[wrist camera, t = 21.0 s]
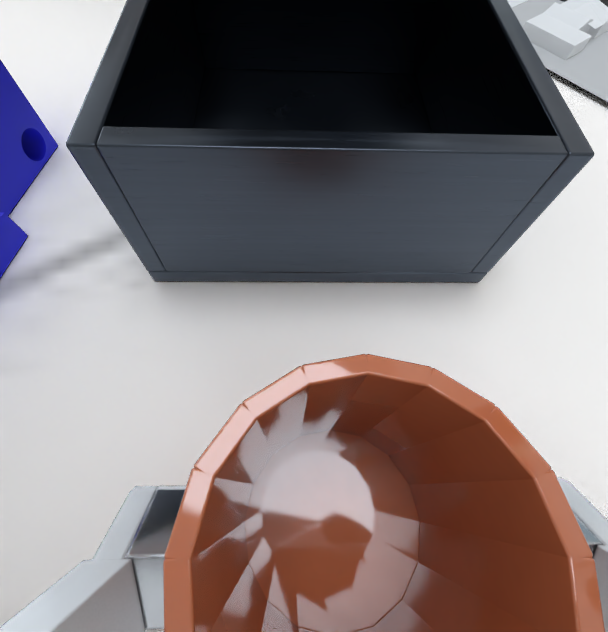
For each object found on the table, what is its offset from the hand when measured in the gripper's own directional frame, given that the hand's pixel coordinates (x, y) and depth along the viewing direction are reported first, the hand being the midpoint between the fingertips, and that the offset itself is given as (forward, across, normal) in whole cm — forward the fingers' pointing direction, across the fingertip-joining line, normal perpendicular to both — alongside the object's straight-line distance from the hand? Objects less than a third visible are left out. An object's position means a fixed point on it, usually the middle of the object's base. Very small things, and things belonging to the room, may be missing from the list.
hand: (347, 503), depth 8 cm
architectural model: (+33, -22, -26) cm, 47 cm away
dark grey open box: (+15, 0, -8) cm, 17 cm away
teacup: (+3, 0, +4) cm, 4 cm away
